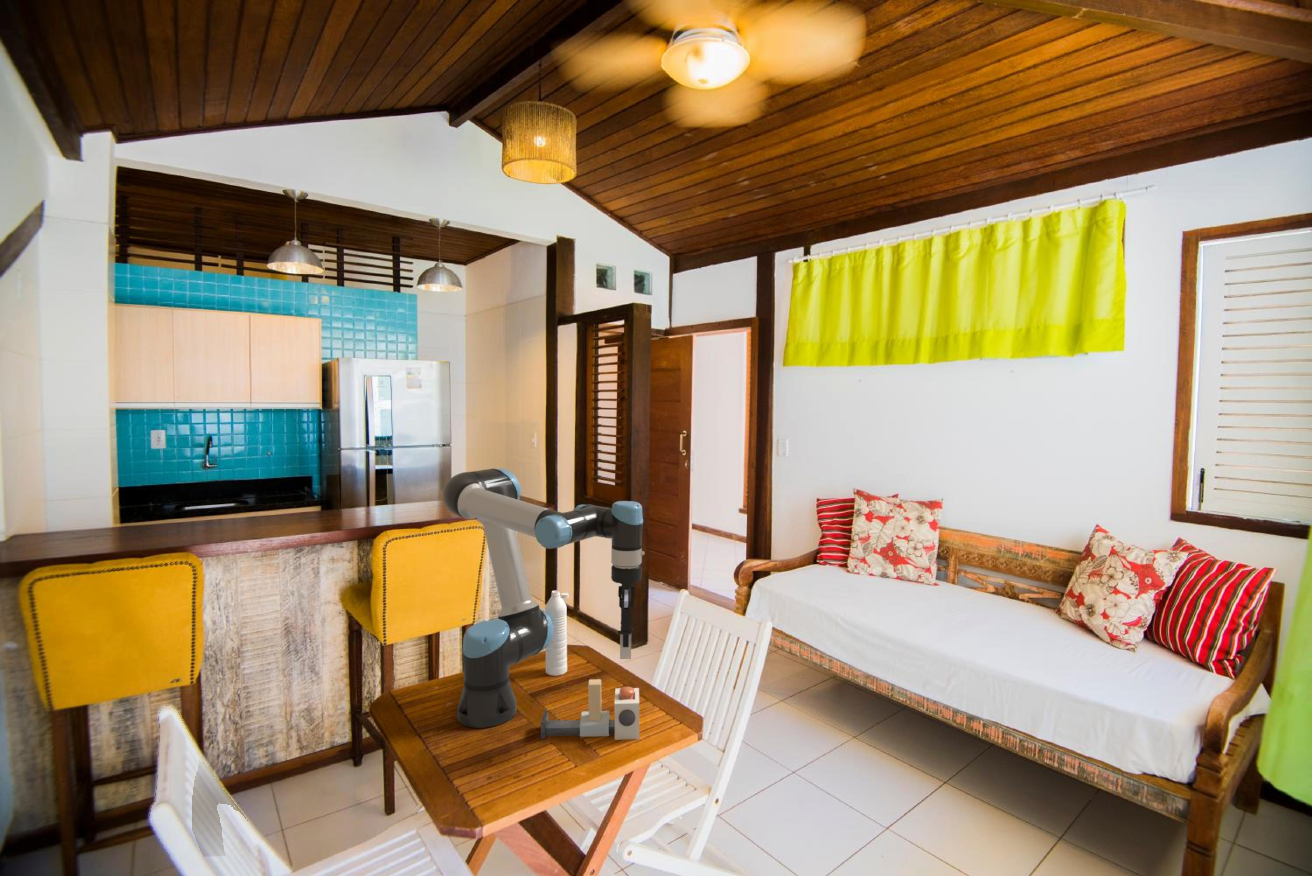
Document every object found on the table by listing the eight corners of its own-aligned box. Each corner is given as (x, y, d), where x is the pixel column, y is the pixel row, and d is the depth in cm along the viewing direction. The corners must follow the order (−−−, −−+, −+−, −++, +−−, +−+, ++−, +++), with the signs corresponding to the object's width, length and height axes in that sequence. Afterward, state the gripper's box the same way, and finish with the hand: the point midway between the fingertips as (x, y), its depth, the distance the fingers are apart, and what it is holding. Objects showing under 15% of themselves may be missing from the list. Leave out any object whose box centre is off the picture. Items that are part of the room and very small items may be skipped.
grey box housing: (614, 740, 150) (614, 704, 149) (615, 722, 158) (615, 688, 158) (639, 740, 150) (639, 704, 150) (638, 722, 159) (638, 688, 158)
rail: (541, 739, 151) (540, 723, 150) (544, 726, 157) (544, 710, 156) (618, 737, 151) (618, 721, 151) (619, 724, 157) (619, 709, 157)
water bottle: (541, 671, 188) (540, 591, 187) (558, 665, 193) (557, 586, 191) (559, 680, 182) (558, 597, 181) (576, 673, 187) (575, 592, 186)
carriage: (579, 736, 151) (579, 688, 150) (582, 722, 157) (581, 676, 157) (608, 736, 151) (608, 688, 150) (609, 721, 158) (609, 675, 157)
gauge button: (619, 718, 152) (619, 693, 152) (620, 711, 156) (619, 686, 156) (634, 718, 152) (634, 693, 152) (634, 711, 156) (634, 686, 156)
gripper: (642, 572, 146) (640, 669, 147) (641, 557, 159) (640, 647, 160) (610, 572, 145) (609, 669, 147) (612, 557, 158) (611, 647, 160)
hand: (625, 657), depth 154 cm, fingers closed
